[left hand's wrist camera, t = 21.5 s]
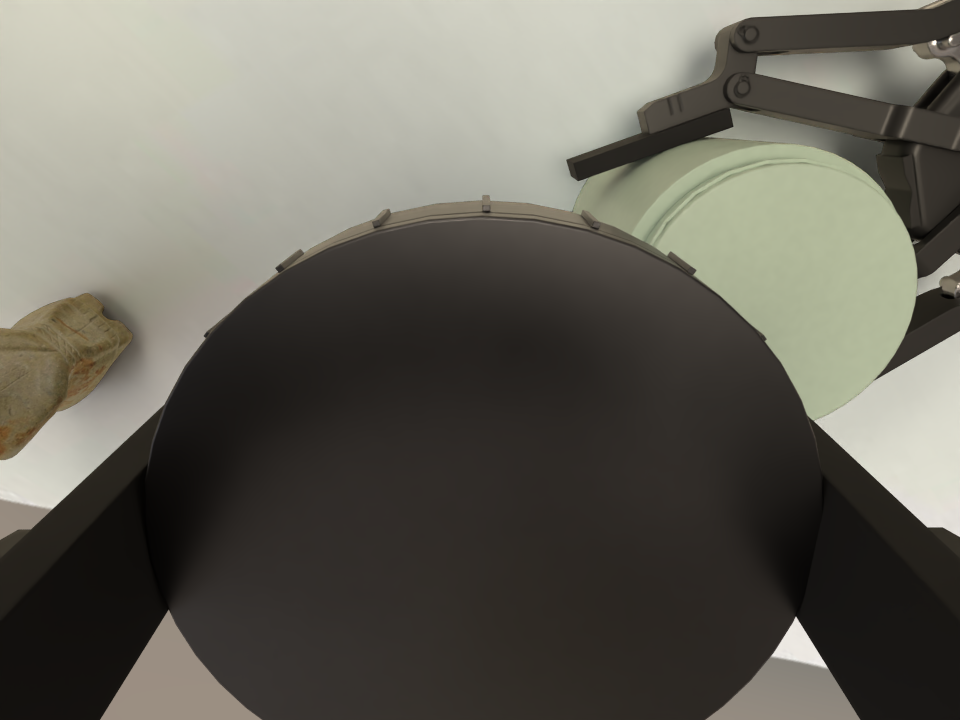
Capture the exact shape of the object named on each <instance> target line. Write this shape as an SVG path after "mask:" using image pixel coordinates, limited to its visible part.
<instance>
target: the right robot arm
mask: <svg viewBox="0 0 960 720" xmlns="http://www.w3.org/2000/svg"><path fill="white" fill-rule="evenodd" d="M714 43H715V49H716V51H717V55H716V63H715V68H714V71H713V73H712V75H711V76H710V77H709V79H707V80H706V81H705V82H703V83H701V84H699V85H696V86H693V87H690V88H688V89H685V90H682V91H679V92H676V93H674V94H671V95H668V96H665V97H663V98H660V99H657V100H654V101H652V102H649V103H647V104H645V105H644V106H643V107H642V108H641V109H640V110H639V111H637V115H638V119H639V122H640V126H641V130H642V133H640V134H637V135H635V136H632V137H629V138H626V139H623V140H621V141H618V142H615V143H612V144H609V145H606V146H604V147H601V148H598V149H595V150H592V151H590V152H587V153H584V154H581V155H578V156H576V157H573V158H570V159H567V164H568V167H569V171H570V174H571V176H572V177H573V178H575V179H576V180H577V181H580V180H583V179H586V178H589V177H592V176H594V175H597V174H600V173H603V172H606V171H609V170H612V169H614V168H617V167H620V166H623V165H626V164H629V163H632V162H634V161H637V160H640V159H643V158H646V157H649V156H651V155H654V154H657V153H660V152H663V151H666V150H669V149H671V148H674V147H677V146H680V145H683V144H686V143H688V142H691V141H694V140H697V139H700V138H703V137H706V136H708V135H711V134H714V133H717V132H720V131H723V130H726V129H728V128H731V127H733V123H732V118H731V113H730V108H733V109H737V110H742V111H747V112H751V113H756V114H760V115H765V116H769V117H774V118H779V119H783V120H788V121H792V122H797V123H801V124H806V125H811V126H815V127H820V128H824V129H829V130H834V131H838V132H843V133H847V134H851V135H853V136H857V137H861V138H865V139H870V140H875V141H879V142H884V146H883V149H882V153H881V154H878V155H876V158H877V166H878V172H879V174H880V176H881V179H882V181H883V183H884V185H885V194H886V195H887V196H888V198H889V199H890V201H891V202H892V204H893V206H894V208H895V210H896V212H897V213H898V215H899V216H900V218H901V219H902V221H903V223H904V225H905V227H906V229H907V231H908V233H909V236H910V239H911V242H913V241H914V240H916V241H919V243H917V244H913V248H914V252H915V258H916V264H917V279H918V278H921V277H925V276H928V275H930V274H932V273H933V272H934V271H936V270H937V269H938V268H939V267H940V266H941V265H942V264H943V263H945V262H946V261H947V260H948V259H949V258H950V257H951V256H952V255H953V254H955V253H956V254H960V0H938V1H936V2H933V3H931V4H929V5H926V6H924V7H921V8H919V9H917V10H896V11H876V12H855V13H835V14H814V15H794V16H773V17H753V18H748V19H744V20H742V21H739V22H737V23H734V24H732V25H729V26H727V27H724V28H723V29H722V30H720V31H719V33H718V34H717V36H716V38H715V42H714ZM911 45H913V46H912V49H913V51H914V52H915V53H916V54H917V55H918V56H919V57H920V58H922V59H934V58H936V59H940V60H941V61H943V62H944V63H945V65H946V68H947V69H946V70H945V71H944V72H943V73H942V74H941V75H940V76H939V77H938V78H937V80H936V81H935V82H934V83H933V84H932V85H931V86H930V88H929V89H928V90H927V91H926V92H925V93H924V94H923V96H922V97H921V98H920V99H919V100H918V101H917V103H916V104H915V105H914V106H913V107H911V106H903V105H895V104H889V103H885V102H880V101H876V100H871V99H867V98H862V97H858V96H853V95H849V94H844V93H840V92H835V91H831V90H826V89H822V88H817V87H813V86H808V85H804V84H799V83H795V82H790V81H786V80H781V79H777V78H772V77H768V76H763V75H759V74H755V70H756V63H757V56H768V55H789V54H811V53H832V52H853V51H874V50H887V49H894V48H899V47H905V46H911ZM939 285H940V287H939V288H936V289H933V290H930V291H928V292H925V293H923V294H921V295H919V296H917V297H916V301H915V306H914V310H913V314H912V317H911V321H910V324H909V326H908V329H907V331H906V334H905V336H904V338H903V340H902V342H901V344H900V346H899V347H898V349H897V351H896V353H895V354H894V356H893V357H892V359H891V360H890V361H889V363H888V364H887V366H886V367H885V369H884V370H883V371H882V372H881V373H880V374H879V375H878V376H877V378H876V379H878V378H879V377H881V376H883V375H885V374H886V373H888V372H890V371H891V370H893V369H895V368H897V367H898V366H900V365H902V364H904V363H905V362H907V361H909V360H911V359H912V358H914V357H916V356H917V355H919V354H921V353H923V352H924V351H926V350H928V349H930V348H931V347H933V346H935V345H937V344H938V343H940V342H942V341H943V340H945V339H947V338H949V337H950V336H952V335H954V334H956V333H957V332H959V331H960V270H959V271H957V272H956V273H954V274H952V275H950V276H944V277H943V278H941V280H940V281H939ZM876 379H875V380H876Z"/></svg>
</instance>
